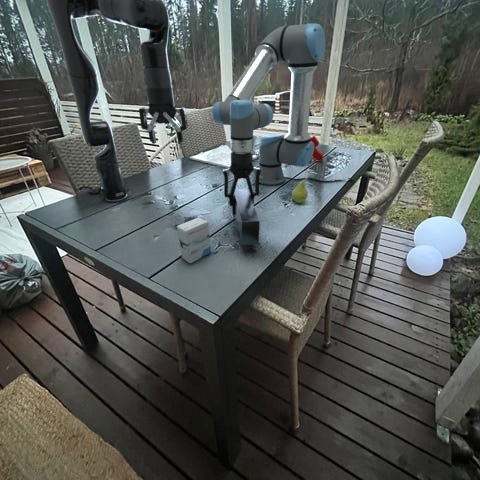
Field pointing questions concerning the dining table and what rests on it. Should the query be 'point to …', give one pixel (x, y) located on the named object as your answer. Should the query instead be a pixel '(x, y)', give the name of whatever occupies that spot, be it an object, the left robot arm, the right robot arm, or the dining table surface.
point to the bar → (246, 218)
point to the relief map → (216, 156)
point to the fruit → (300, 192)
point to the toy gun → (316, 153)
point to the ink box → (194, 239)
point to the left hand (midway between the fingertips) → (167, 143)
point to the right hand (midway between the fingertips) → (241, 212)
